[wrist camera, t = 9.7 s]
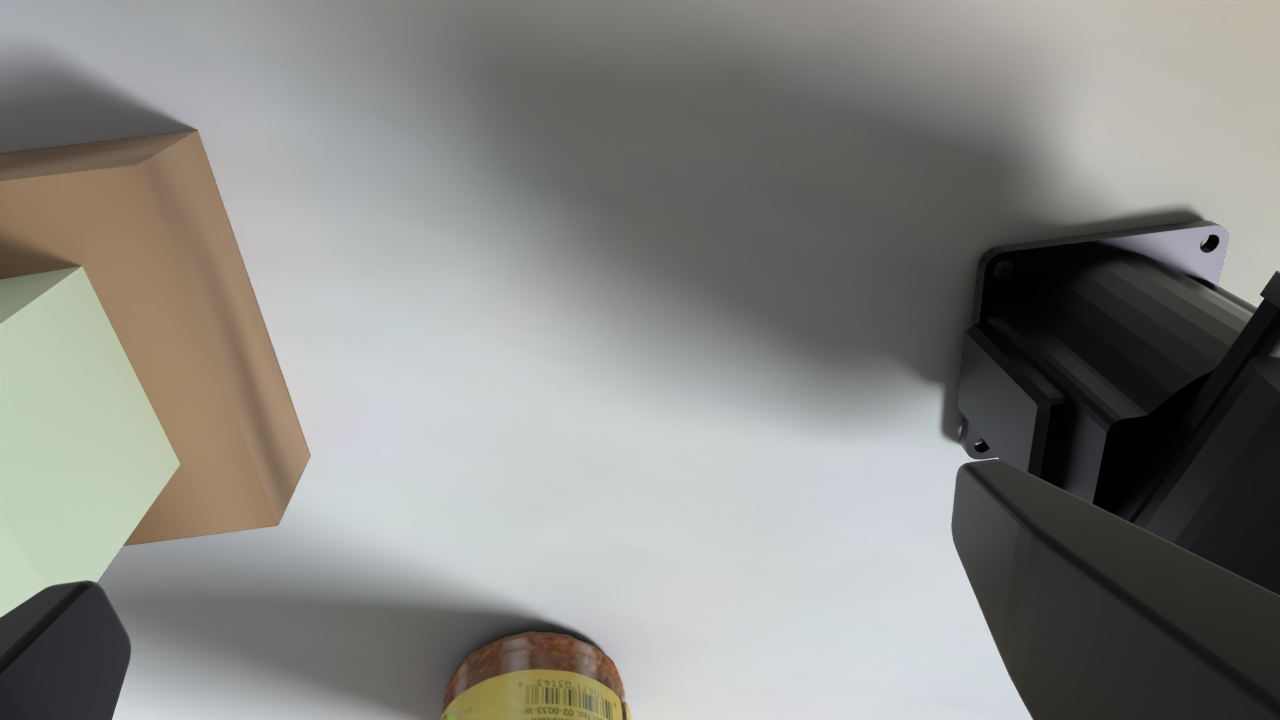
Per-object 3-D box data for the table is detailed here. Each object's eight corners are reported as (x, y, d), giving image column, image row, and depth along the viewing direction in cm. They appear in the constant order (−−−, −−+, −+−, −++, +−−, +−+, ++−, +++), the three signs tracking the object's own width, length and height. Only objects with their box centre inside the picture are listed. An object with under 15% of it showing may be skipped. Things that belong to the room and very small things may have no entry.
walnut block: (205, 126, 19) (137, 164, 16) (314, 446, 23) (278, 525, 20) (-191, 172, 19) (-337, 221, 16) (-8, 488, 23) (-95, 574, 20)
